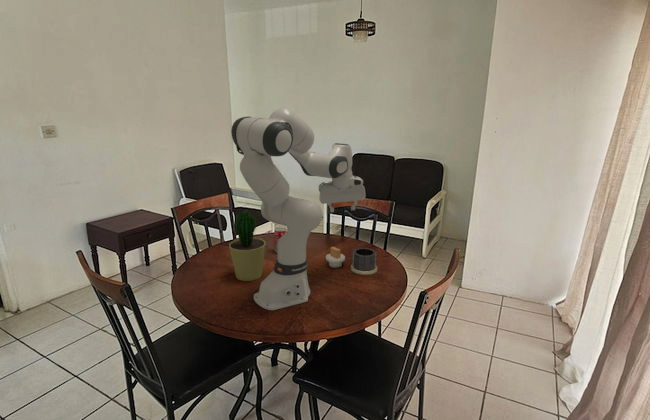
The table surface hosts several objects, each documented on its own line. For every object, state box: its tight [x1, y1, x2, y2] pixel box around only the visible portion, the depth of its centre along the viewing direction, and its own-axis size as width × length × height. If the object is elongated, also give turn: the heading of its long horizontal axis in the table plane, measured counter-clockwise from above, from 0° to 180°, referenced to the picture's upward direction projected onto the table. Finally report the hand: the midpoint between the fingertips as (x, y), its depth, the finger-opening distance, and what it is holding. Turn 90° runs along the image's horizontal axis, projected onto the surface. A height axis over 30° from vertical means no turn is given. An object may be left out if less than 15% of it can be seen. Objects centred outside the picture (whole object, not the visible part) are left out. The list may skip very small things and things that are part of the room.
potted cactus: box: [228, 210, 267, 282], centre depth 157 cm, size 15×15×30 cm
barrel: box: [350, 247, 378, 276], centre depth 167 cm, size 12×12×8 cm
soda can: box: [273, 227, 287, 253], centre depth 187 cm, size 7×7×12 cm
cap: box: [325, 246, 346, 269], centre depth 172 cm, size 9×9×8 cm
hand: (342, 210), depth 163 cm, fingers open, 8 cm apart
